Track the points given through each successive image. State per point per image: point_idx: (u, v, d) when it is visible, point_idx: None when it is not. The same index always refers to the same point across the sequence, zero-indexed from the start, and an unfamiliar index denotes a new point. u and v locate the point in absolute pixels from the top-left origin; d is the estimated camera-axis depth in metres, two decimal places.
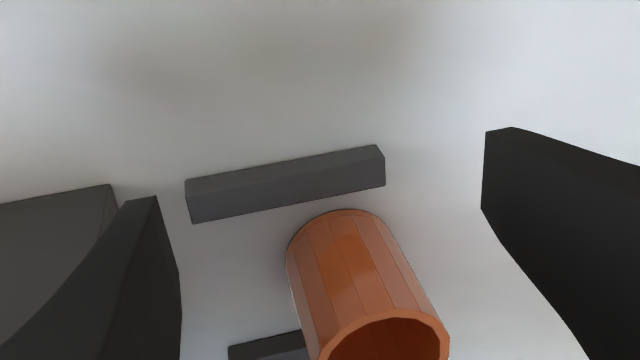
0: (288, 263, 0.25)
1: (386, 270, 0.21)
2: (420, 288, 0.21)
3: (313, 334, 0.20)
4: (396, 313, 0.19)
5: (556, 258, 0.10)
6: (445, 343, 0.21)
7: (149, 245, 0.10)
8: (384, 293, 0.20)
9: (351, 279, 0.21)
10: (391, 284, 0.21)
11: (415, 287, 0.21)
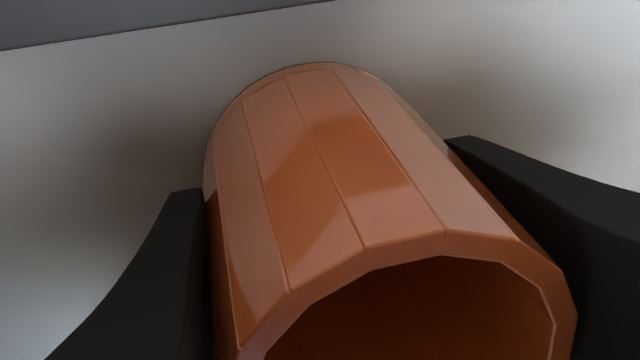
0: (205, 171, 0.12)
1: (414, 153, 0.09)
2: (495, 199, 0.09)
3: (227, 308, 0.08)
4: (451, 243, 0.07)
5: None
6: (567, 331, 0.08)
7: (201, 234, 0.10)
8: (413, 195, 0.07)
9: (327, 170, 0.08)
10: (430, 177, 0.08)
11: (486, 194, 0.09)
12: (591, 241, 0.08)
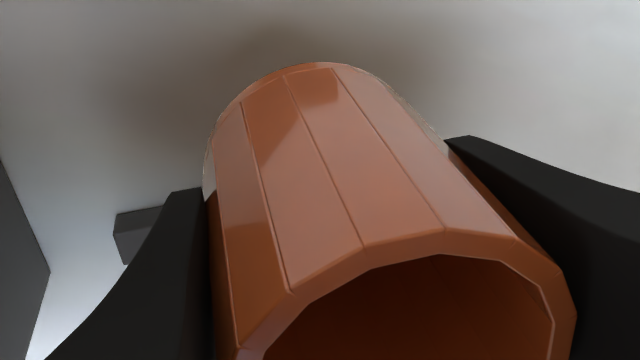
0: (205, 171, 0.12)
1: (413, 152, 0.09)
2: (495, 198, 0.09)
3: (226, 306, 0.08)
4: (450, 241, 0.07)
5: None
6: (566, 330, 0.08)
7: (201, 234, 0.10)
8: (413, 194, 0.07)
9: (326, 169, 0.08)
10: (430, 177, 0.08)
11: (485, 193, 0.09)
12: (591, 242, 0.08)
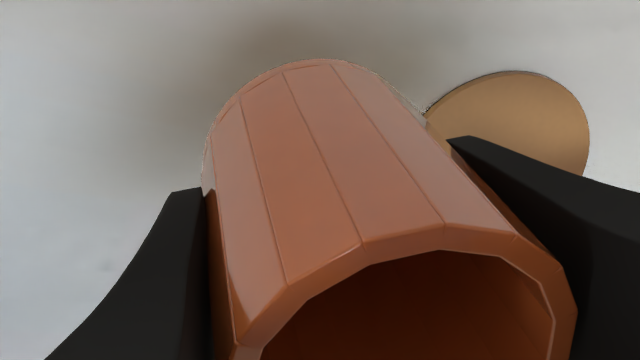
0: (204, 168, 0.12)
1: (413, 147, 0.09)
2: (495, 195, 0.09)
3: (224, 303, 0.08)
4: (450, 237, 0.07)
5: None
6: (567, 327, 0.08)
7: (201, 234, 0.10)
8: (412, 190, 0.07)
9: (325, 164, 0.08)
10: (430, 172, 0.08)
11: (485, 189, 0.09)
12: (591, 242, 0.08)
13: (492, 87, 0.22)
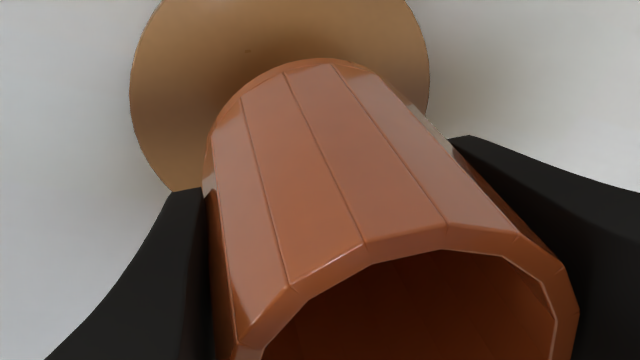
0: (204, 167, 0.12)
1: (415, 147, 0.09)
2: (497, 194, 0.09)
3: (225, 303, 0.08)
4: (451, 237, 0.07)
5: None
6: (569, 326, 0.08)
7: (201, 234, 0.10)
8: (414, 189, 0.07)
9: (327, 164, 0.08)
10: (431, 172, 0.08)
11: (487, 188, 0.08)
12: (591, 242, 0.08)
13: None
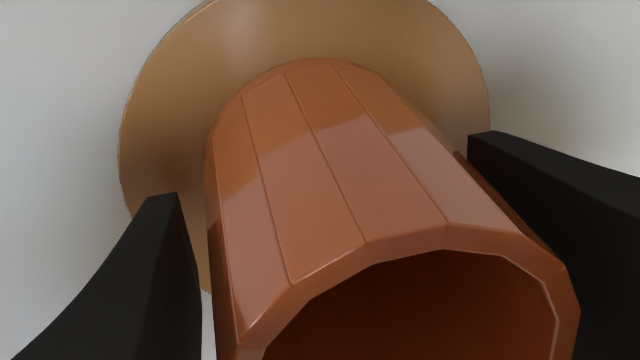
0: (205, 167, 0.12)
1: (415, 147, 0.09)
2: (498, 194, 0.09)
3: (226, 303, 0.08)
4: (453, 236, 0.07)
5: None
6: (569, 326, 0.08)
7: (173, 240, 0.10)
8: (415, 189, 0.07)
9: (327, 164, 0.08)
10: (431, 172, 0.08)
11: (488, 188, 0.08)
12: (628, 233, 0.08)
13: None
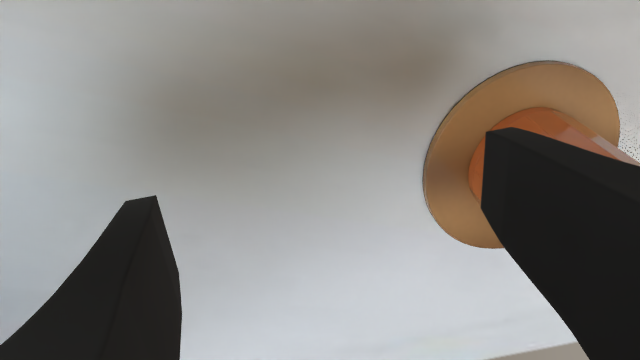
0: (479, 165, 0.23)
1: (620, 155, 0.19)
2: None
3: None
4: None
5: (556, 258, 0.10)
6: None
7: (149, 245, 0.10)
8: None
9: None
10: None
11: None
12: None
13: (524, 77, 0.22)
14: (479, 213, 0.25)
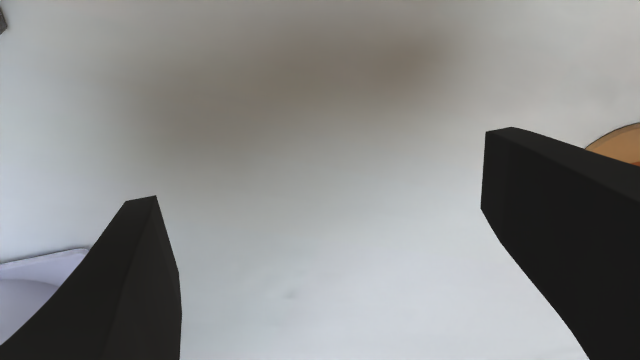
0: None
1: None
2: None
3: None
4: None
5: (556, 258, 0.10)
6: None
7: (149, 245, 0.10)
8: None
9: None
10: None
11: None
12: None
13: (635, 136, 0.25)
14: None
